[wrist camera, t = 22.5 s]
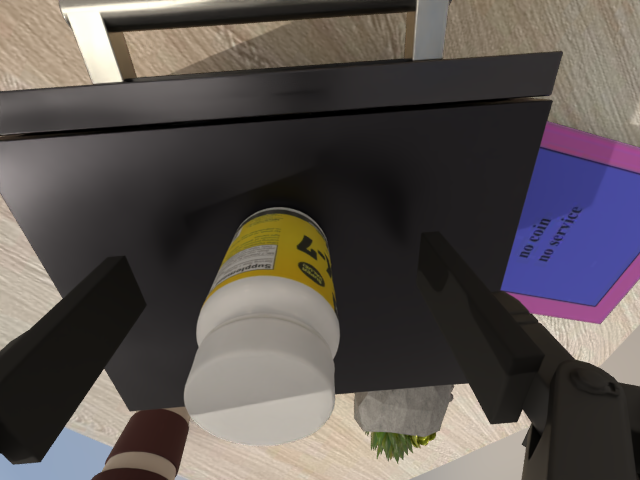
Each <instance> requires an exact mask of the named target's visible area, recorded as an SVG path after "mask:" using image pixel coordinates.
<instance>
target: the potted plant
mask: <svg viewBox="0 0 640 480" xmlns="http://www.w3.org/2000/svg"><path fill="white" fill-rule="evenodd" d="M453 388H454V385H442V386H430V387H418V388H406V389H394V390H382V391H370V392H358V393H355V397H354V419H355V420H356V421H357V423H358V424H359V426H360V427H361V429H362V430H363V431H366V432H365V435H366V433H367V436H368V434H369V432H371V450H372V446H373V450H374V447H375V449H376V448H377V445H378V449H377V459H378V455H379V453H380V452H381V454H382V451H383V449H384V451H385V454H386V459H388V462H389V457H390V460H391V458H392V456H393V458H394V457H395V459H396V461H397V463H398V460H399V457H400V458H402V460H403V457H404V451H405V453H406V454H407V455H408V449H409V450H410V451H411V452H412V453H413V451H412V445H413V446H414V447H416V448H421V447H420V444H421V445H425V446H426V445H427V444H428V441H431V440H433V439H434V438H435V437H436V432H437V431H440V427H441V424H442V421H443V418H444V415H445V412H446V410H447V407H448V404H449V402H450V401H452V400H453V395H452V394H451V392H452V390H453Z"/></svg>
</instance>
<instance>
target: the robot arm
mask: <svg viewBox="0 0 640 480" xmlns="http://www.w3.org/2000/svg"><path fill="white" fill-rule="evenodd" d="M416 285H417V287H418V289H419V291H420V293H421V295H422V296H423V298H424V300H425V302H426V304H427V306H428V308H429V310H430V311H431V313H432V315H433V317H434V319H435V321H436V323H437V325H438V326H439V328H440V330H441V332H442V334H443V336H444V338H445V340H446V342H447V343H448V345H449V347H450V349H451V351H452V353H453V355H454V357H455V358H456V360H457V362H458V364H459V366H460V368H461V370H462V372H463V373H464V375H465V377H466V379H467V381H468V383H469V385H470V387H471V388H472V390H473V392H474V394H475V396H476V398H477V400H478V402H479V403H480V405H481V407H482V409H483V411H484V413H485V415H486V417H487V418H488V420H489V422H490V424H500V423H512V422H517V421H518V419H519V417H520V414H521V412H522V409H523V410H524V412H525V413H526V415H527V416H528V418H529V419H530V421H531V422H532V423H531V426H530V428H529V430H528V432H527V434H526V436H525V439H524V441H523V443H522V445H523V446H525V447H526V453H525V460H524V467H523V473H522V480H640V386H635V385H629V384H624V383H619V382H617V381H616V380H615V378H614V377H612V376H611V375H609V374H608V373H607V372H605V371H604V370H602V369H601V368H598V367H596V366H594V365H592V364H590V363H586V362H582V361H578V360H575V359H574V358H573V357H572V356H571V355H570V354H569V352H568V351H567V350H566V349H565V348H564V347H563V346H562V345H561V344H560V343H559V342H558V341H557V340H556V339H555V338H554V337H553V336H552V335H551V334H550V332H549V331H548V330H547V329H546V328H545V327H544V326H543V325H542V324H541V323H538V320H537V319H536V318H535V317H534V316H533V315H532V314H530V313H529V310H528V309H527V308H526V307H525V306H524V305H523V304H522V303H521V302H520V301H519V300H518V299H516V298H515V297H513V296H511V295H510V294H508V293H506V292H505V291H496V292H491V291H490V290H489V289H488V288H487V287H486V285H485V284H484V283H483V282H482V281H481V280H480V278H479V277H478V276H477V275H476V274H475V273H474V271H473V270H472V269H471V268H470V267H469V266H468V264H467V263H466V262H465V261H464V260H463V259H462V257H461V256H460V255H459V254H458V253H457V252H456V250H455V249H454V248H453V247H452V246H451V245H450V243H449V242H448V241H447V240H446V239H445V238H444V237H443V235H442V234H441V233H440V232H439V231H436V232H423V233H421V241H420V250H419V260H418V269H417V278H416ZM146 306H147V304H146V302H145V300H144V297H143V295H142V293H141V290H140V288H139V286H138V283H137V281H136V279H135V277H134V274H133V272H132V270H131V267H130V265H129V263H128V260H127V258H126V256H114V257H107V258H106V259H105V260H104V261H103V262H102V263H101V264H99V265H98V266H97V267H96V268H95V269H94V270H93V271H92V272H91V273H90V274H89V275H88V276H87V277H85V278H84V279H83V280H82V281H81V282H80V283H79V284H78V285H77V286H76V287H75V288H74V289H73V290H72V291H70V292H69V293H68V294H67V295H66V296H65V297H64V298H63V299H62V300H61V301H60V302H59V303H58V304H56V305H55V306H54V307H53V308H52V309H51V310H50V311H49V312H48V313H47V314H46V315H45V316H44V317H43V318H41V319H40V320H39V321H38V322H37V323H36V324H35V325H34V326H33V327H32V328H31V329H30V330H28V331H26V332H25V333H23V334H22V335H20V336H19V337H17V338H16V339H14V340H12V341H11V342H10V343H9V344H8V345H6V346H5V347H4V348H3V349H2V350H1V351H0V453H1V454H3V455H4V456H5V457H6V458H7V459H8V460H9V461H10V462H11V463H12V464H25V463H36V462H41V460H42V459H43V458H44V456H45V455H46V453H47V452H48V450H49V449H50V447H51V446H52V444H53V443H54V441H55V440H56V438H57V437H58V436H59V434H60V433H61V431H62V430H63V428H64V427H65V425H66V424H67V422H68V421H69V419H70V418H71V416H72V415H73V414H74V412H75V411H76V409H77V408H78V406H79V405H80V403H81V402H82V400H83V399H84V397H85V396H86V394H87V393H88V391H89V390H90V388H91V387H92V386H93V384H94V383H95V381H96V380H97V378H98V377H99V375H100V374H101V372H102V371H103V369H104V368H105V366H106V365H107V363H108V362H109V360H110V359H111V358H112V356H113V355H114V353H115V352H116V350H117V349H118V347H119V346H120V344H121V343H122V341H123V340H124V338H125V337H126V335H127V334H128V333H129V331H130V330H131V328H132V327H133V325H134V324H135V322H136V321H137V319H138V318H139V316H140V315H141V313H142V312H143V310H144V309H145V307H146Z"/></svg>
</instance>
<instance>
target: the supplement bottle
mask: <svg viewBox="0 0 640 480" xmlns="http://www.w3.org/2000/svg"><path fill="white" fill-rule="evenodd" d="M196 337H197V343H198V347H199V348H198V350H197V352H196V355H195V359H194V362H193V365H192V368H191V371H190V373H189V376H188V379H187V382H186V385H185V390H184V403H185V407H186V409H187V411H188V414H189V415H190V417H191V418H192V419H193V421H194V422H195V423H196V424H197V425H199V426H200V427H201V428H202V429H203V430H205V431H206V432H208V433H210V434H211V435H213V436H215V437H218V438H220V439H223V440H226V441H229V442H232V443H236V444H242V445H248V446H277V445H283V444H287V443H292V442H294V441H298V440H301V439H303V438H306V437H308V436H310V435H311V434H313V433H315V432H316V431H318V430H319V429H320V428H321V427H322V426H323V425H324V424H325V423H326V421H327V420H328V419H329V417H330V416H331V414H332V411H333V409H334V404H335V387H334V372H335V367H334V361H333V359H334V357H335V355H336V352H337V349H338V345H339V339H340V328H339V318H338V313H337V305H336V298H335V291H334V283H333V276H332V269H331V262H330V254H329V247H328V243H327V239H326V237H325V234H324V233H323V231H322V229H321V228H320V227H319V225H318V224H317V223H316V222H315V221H314V220H313V219H312V218H310V217H309V216H308V215H306V214H304V213H302V212H300V211H297V210H294V209H290V208H284V207H274V208H268V209H264V210H261V211H258V212H256V213H254V214H253V215H251V216H250V217H248V218H247V219H246V220H245V221H244V222H243V223H242V224H241V225H240V226H239V228H238V230H237V231H236V233H235V235H234V238H233V240H232V242H231V244H230V247H229V249H228V251H227V253H226V255H225V258H224V260H223V262H222V264H221V267H220V269H219V271H218V273H217V276H216V278H215V280H214V283H213V285H212V287H211V289H210V291H209V294H208V296H207V298H206V300H205V302H204V304H203V306H202V308H201V311H200V315H199V318H198V322H197V330H196Z"/></svg>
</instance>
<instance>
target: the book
mask: <svg viewBox="0 0 640 480" xmlns="http://www.w3.org/2000/svg"><path fill="white" fill-rule="evenodd" d="M639 279H640V147H636V146H633V145H629V144H626V143H622V142H619V141H615V140H612V139H608V138H605V137H601V136H598V135H594V134H591V133H587V132H584V131H580V130H577V129H573V128H570V127H566V126H563V125H559V124H556V123H552V122H549V121H547V123H546V127H545V131H544V134H543V138H542V142H541V145H540V149H539V152H538V156H537V160H536V163H535V167H534V171H533V174H532V178H531V181H530V185H529V189H528V192H527V196H526V200H525V203H524V207H523V211H522V214H521V218H520V221H519V225H518V229H517V232H516V236H515V240H514V243H513V247H512V250H511V254H510V258H509V261H508V265H507V269H506V272H505V276H504V279H503V283H502V287H501V290H500V291H505V292H506V293H508V294H510V295H511V296H513V297H515V298H516V299H518V300H519V301H520V302H521V303H522V304H523V305H524V306H525V307H526V308H527V309H528V310H529V313H532V314H538V315H545V316H551V317H558V318H564V319H570V320H577V321H583V322H590V323H596V324H601V323H602V322H603V321H604V320H605V318H606V317H607V316H608V315H609V314H610V313H611V311H612V310H613V309H614V308H615V307H616V306H617V305H618V303H619V302H620V301H621V300H622V299H623V298H624V296H625V295H626V294H627V293H628V292H629V291H630V290H631V288H632V287H633V286H634V285H635V284H636V283H637V281H638V280H639Z"/></svg>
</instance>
